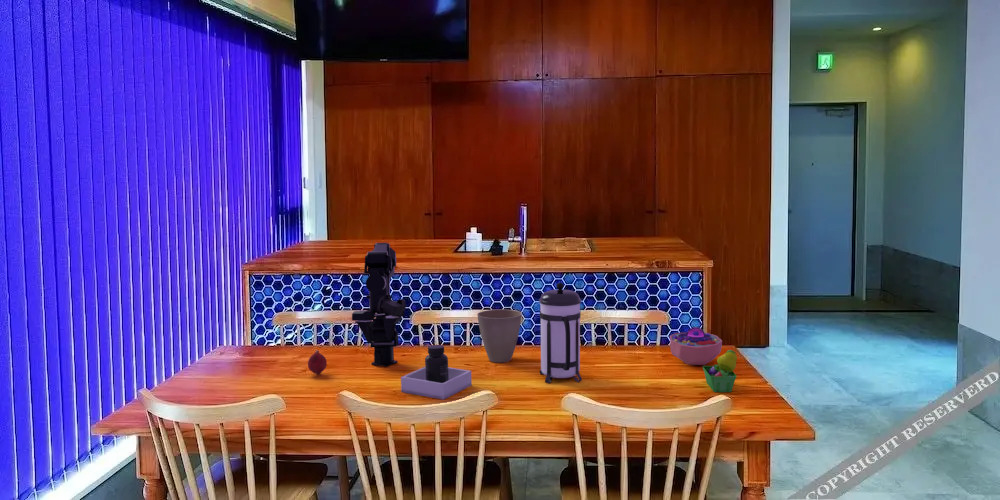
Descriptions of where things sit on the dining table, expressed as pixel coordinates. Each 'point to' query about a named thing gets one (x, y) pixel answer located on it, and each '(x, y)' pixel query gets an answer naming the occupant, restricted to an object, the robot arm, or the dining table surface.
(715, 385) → the fruit basket
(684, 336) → the cell model
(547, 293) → the coffee press
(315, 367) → the onion
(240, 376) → the dining table surface
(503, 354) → the plant pot
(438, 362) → the supplement bottle
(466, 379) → the purple bin
